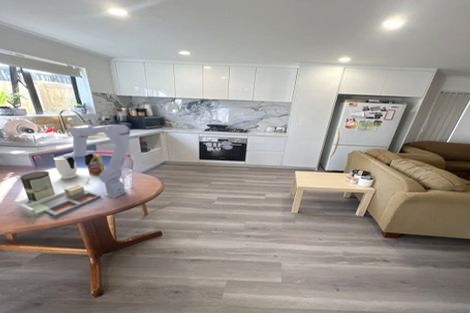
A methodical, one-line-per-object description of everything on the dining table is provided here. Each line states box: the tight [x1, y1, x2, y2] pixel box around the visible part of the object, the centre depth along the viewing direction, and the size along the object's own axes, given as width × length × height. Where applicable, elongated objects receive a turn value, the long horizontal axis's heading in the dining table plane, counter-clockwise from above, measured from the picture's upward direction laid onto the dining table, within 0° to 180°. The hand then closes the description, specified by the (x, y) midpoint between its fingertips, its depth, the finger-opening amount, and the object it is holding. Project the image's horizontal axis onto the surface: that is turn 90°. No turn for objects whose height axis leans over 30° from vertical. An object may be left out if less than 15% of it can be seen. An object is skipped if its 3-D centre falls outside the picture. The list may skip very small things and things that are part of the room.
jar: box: [53, 155, 78, 180], centre depth 121 cm, size 11×10×15 cm
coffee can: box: [19, 170, 56, 203], centre depth 94 cm, size 10×10×14 cm
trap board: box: [19, 189, 102, 220], centre depth 90 cm, size 20×24×4 cm
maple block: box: [63, 184, 85, 197], centre depth 97 cm, size 6×6×4 cm
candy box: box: [87, 153, 105, 175], centre depth 127 cm, size 9×4×15 cm, turn 98°
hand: (79, 166), depth 103 cm, fingers open, 7 cm apart
